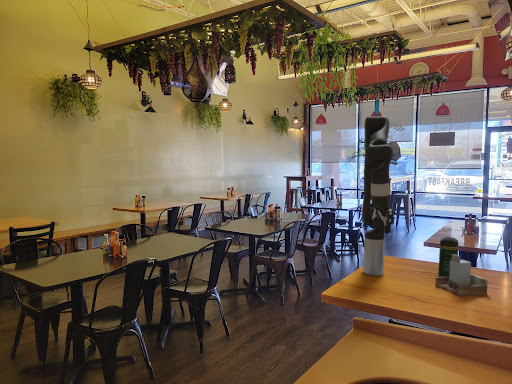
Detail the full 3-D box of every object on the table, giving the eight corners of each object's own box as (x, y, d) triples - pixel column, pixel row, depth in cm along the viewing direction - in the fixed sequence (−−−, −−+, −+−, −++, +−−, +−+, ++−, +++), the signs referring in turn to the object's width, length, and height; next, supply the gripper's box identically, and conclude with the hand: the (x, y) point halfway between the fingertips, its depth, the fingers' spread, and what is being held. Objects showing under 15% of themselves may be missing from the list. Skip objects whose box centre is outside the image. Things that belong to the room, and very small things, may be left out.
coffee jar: (456, 280, 180) (458, 240, 179) (437, 277, 184) (439, 238, 182) (457, 275, 188) (459, 236, 187) (439, 272, 192) (440, 235, 191)
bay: (435, 285, 172) (435, 271, 172) (461, 283, 175) (461, 270, 175) (459, 296, 158) (460, 281, 158) (486, 293, 161) (487, 279, 161)
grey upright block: (447, 285, 168) (449, 253, 167) (461, 284, 170) (463, 253, 169) (456, 289, 163) (458, 256, 162) (471, 288, 165) (472, 255, 164)
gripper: (398, 195, 156) (399, 233, 160) (378, 188, 170) (380, 224, 173) (382, 198, 155) (383, 237, 158) (363, 191, 168) (365, 227, 172)
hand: (381, 230), depth 166 cm, fingers open, 8 cm apart
